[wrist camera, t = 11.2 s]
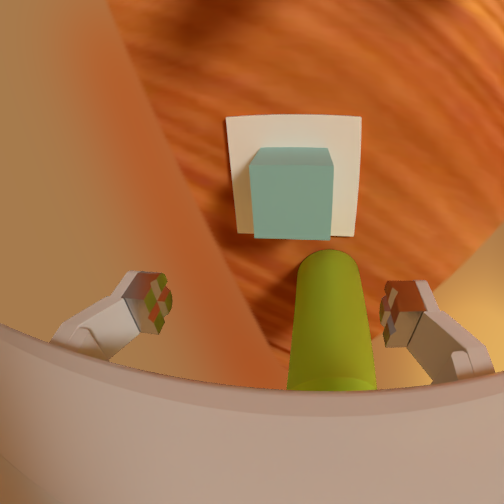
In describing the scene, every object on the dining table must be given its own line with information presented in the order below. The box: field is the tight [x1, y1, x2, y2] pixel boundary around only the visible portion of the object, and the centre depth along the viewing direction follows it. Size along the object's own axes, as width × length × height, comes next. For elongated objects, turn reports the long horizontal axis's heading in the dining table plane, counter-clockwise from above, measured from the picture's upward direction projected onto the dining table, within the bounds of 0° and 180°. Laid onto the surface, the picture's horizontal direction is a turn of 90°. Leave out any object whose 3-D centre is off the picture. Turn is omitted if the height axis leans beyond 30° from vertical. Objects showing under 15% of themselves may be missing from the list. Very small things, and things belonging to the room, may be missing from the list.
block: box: [249, 147, 334, 240], centre depth 20 cm, size 5×5×5 cm
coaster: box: [226, 114, 361, 237], centre depth 22 cm, size 10×10×1 cm
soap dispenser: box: [286, 250, 377, 391], centre depth 18 cm, size 6×7×20 cm
